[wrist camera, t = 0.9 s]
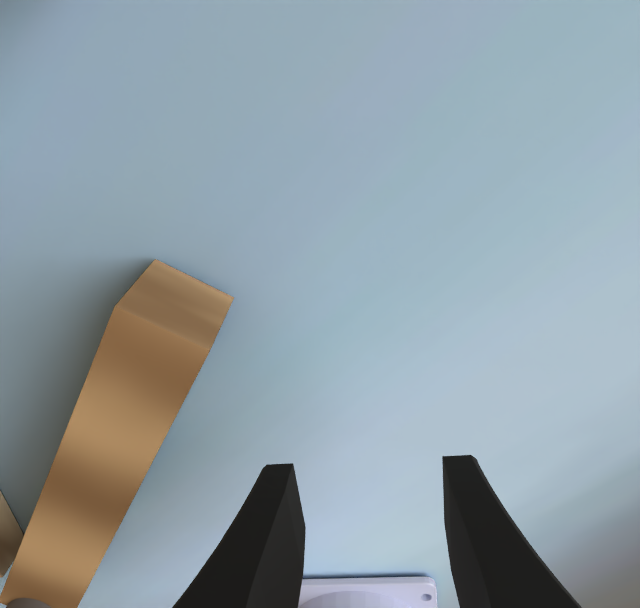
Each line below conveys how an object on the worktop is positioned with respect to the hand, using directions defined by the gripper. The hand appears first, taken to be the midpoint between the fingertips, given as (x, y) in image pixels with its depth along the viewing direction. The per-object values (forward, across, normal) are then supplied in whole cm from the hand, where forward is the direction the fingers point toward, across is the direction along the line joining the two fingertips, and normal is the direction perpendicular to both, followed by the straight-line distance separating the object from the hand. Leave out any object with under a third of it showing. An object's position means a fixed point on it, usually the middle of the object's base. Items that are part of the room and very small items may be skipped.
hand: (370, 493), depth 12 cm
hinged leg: (+8, +11, +5) cm, 14 cm away
